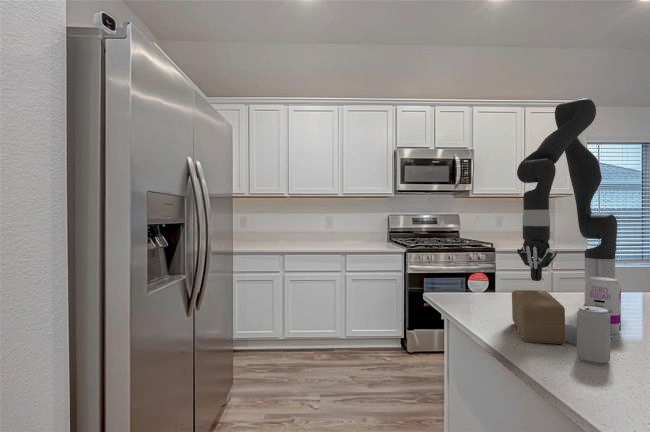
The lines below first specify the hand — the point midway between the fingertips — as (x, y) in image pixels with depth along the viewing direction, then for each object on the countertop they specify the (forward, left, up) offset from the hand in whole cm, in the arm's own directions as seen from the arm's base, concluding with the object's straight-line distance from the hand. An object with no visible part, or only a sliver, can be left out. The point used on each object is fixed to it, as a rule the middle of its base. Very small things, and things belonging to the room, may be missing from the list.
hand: (536, 280), depth 125 cm
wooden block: (+3, +1, -7) cm, 8 cm away
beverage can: (+15, +29, -13) cm, 35 cm away
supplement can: (-10, +14, -13) cm, 22 cm away
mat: (+2, +11, -13) cm, 17 cm away
